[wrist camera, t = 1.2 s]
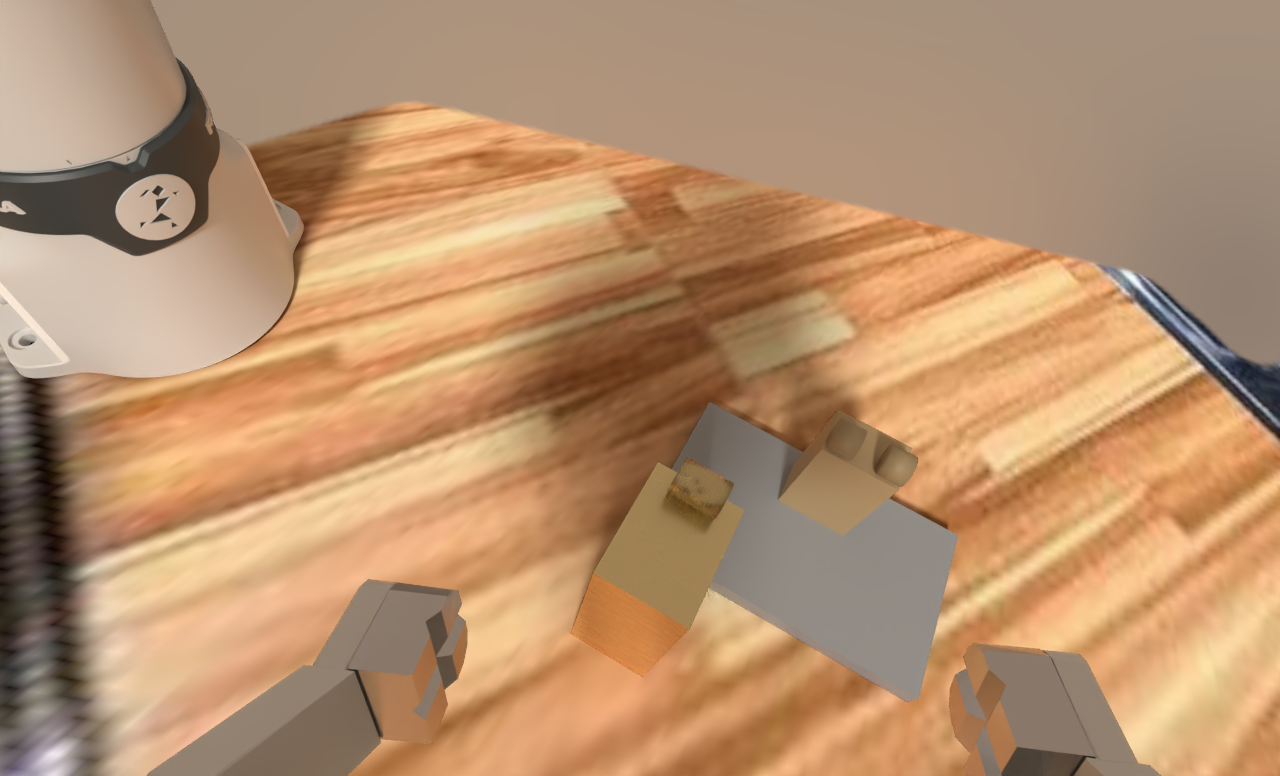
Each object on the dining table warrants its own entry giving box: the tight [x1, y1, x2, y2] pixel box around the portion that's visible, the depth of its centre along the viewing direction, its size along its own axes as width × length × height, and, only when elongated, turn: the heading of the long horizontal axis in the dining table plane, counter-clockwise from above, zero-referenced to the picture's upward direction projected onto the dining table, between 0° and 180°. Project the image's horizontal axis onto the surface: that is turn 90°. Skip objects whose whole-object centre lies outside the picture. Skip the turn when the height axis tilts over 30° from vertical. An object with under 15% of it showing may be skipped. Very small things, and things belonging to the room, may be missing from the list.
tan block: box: [571, 457, 745, 677], centre depth 33 cm, size 4×6×13 cm
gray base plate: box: [672, 402, 958, 702], centre depth 38 cm, size 18×11×10 cm, turn 62°
